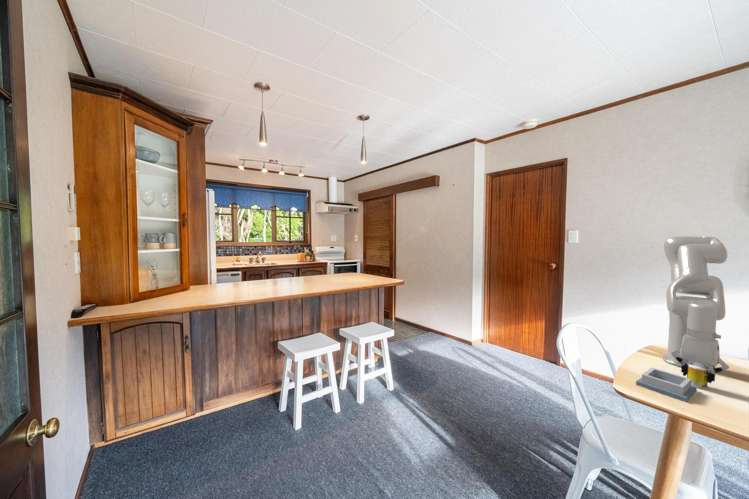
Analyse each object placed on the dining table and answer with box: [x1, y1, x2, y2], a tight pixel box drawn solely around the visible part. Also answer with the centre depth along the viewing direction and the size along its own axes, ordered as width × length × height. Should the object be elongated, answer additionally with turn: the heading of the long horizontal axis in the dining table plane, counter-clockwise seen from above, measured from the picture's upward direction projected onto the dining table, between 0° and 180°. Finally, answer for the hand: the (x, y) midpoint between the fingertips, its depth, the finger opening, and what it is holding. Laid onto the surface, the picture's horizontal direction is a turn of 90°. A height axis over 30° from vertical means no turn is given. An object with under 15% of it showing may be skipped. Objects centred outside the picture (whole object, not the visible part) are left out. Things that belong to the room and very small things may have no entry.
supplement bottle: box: [686, 361, 710, 390], centre depth 115 cm, size 6×6×10 cm
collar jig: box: [635, 367, 697, 403], centre depth 114 cm, size 14×14×4 cm
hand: (697, 378), depth 116 cm, fingers open, 6 cm apart
